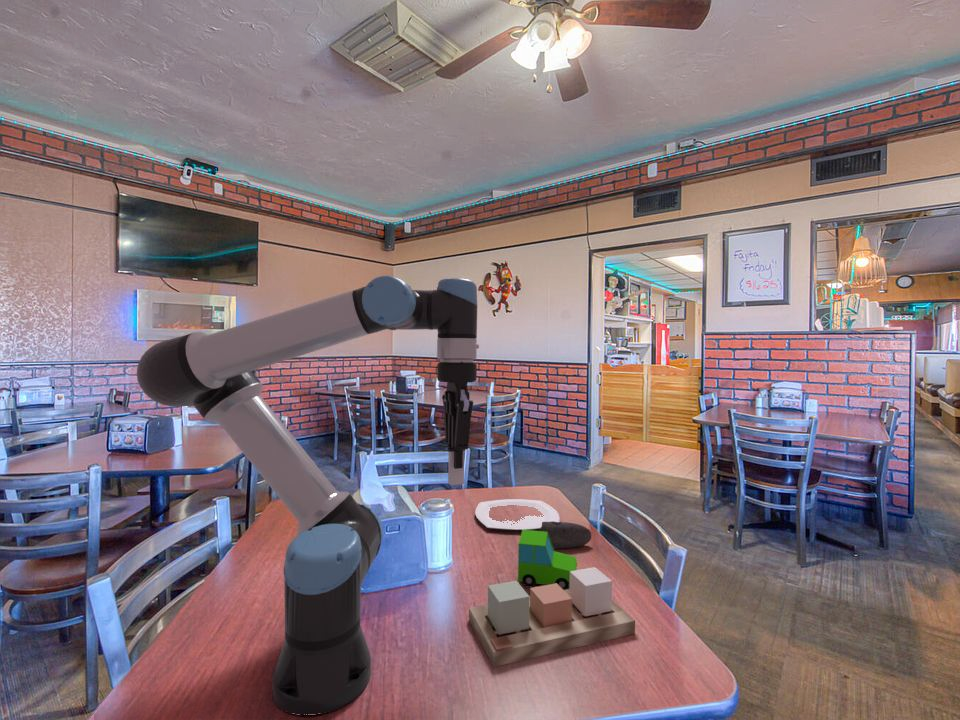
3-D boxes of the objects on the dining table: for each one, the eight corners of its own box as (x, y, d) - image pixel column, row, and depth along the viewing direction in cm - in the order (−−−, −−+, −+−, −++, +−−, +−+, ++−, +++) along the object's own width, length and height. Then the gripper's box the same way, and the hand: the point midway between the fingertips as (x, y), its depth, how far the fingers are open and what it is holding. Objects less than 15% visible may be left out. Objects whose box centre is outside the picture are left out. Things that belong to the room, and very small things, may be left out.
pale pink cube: (585, 616, 87) (585, 585, 87) (569, 600, 93) (569, 571, 92) (611, 610, 89) (612, 580, 89) (594, 595, 95) (594, 567, 94)
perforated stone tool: (588, 542, 127) (589, 518, 127) (594, 550, 122) (595, 525, 122) (536, 543, 126) (536, 519, 126) (540, 551, 121) (540, 526, 121)
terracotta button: (543, 635, 84) (543, 604, 84) (529, 617, 90) (530, 588, 90) (571, 629, 86) (572, 598, 86) (556, 612, 92) (556, 583, 92)
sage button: (498, 634, 81) (499, 602, 81) (487, 616, 87) (487, 585, 87) (529, 628, 83) (529, 596, 83) (516, 610, 89) (516, 580, 89)
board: (493, 666, 77) (493, 650, 76) (468, 620, 90) (469, 605, 90) (634, 633, 86) (635, 618, 86) (593, 595, 99) (593, 582, 99)
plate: (471, 505, 157) (471, 500, 157) (546, 503, 160) (546, 498, 160) (479, 537, 131) (479, 530, 131) (569, 534, 134) (569, 527, 133)
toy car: (577, 595, 99) (577, 551, 99) (517, 588, 102) (518, 545, 102) (576, 573, 109) (577, 532, 109) (522, 567, 112) (522, 527, 112)
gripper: (487, 362, 81) (485, 492, 81) (465, 360, 93) (464, 473, 94) (446, 362, 78) (445, 496, 79) (430, 360, 91) (429, 476, 91)
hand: (456, 483), depth 86 cm, fingers closed
